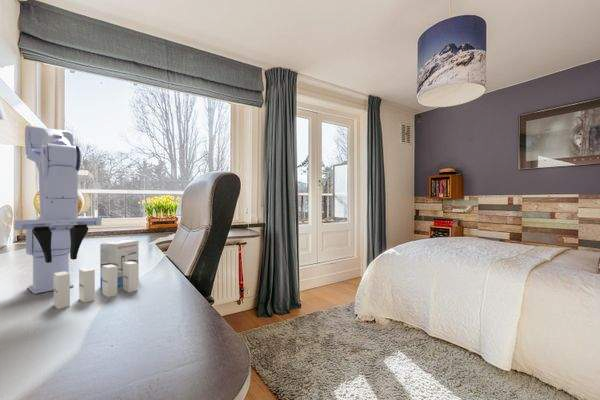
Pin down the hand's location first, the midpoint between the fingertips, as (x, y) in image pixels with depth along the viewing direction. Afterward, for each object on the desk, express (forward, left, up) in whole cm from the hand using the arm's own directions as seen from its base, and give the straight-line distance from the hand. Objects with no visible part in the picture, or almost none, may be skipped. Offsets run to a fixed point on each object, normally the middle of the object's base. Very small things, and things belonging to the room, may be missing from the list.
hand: (61, 260), depth 62 cm
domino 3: (0, +9, -10) cm, 13 cm away
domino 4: (0, +14, -10) cm, 17 cm away
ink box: (-9, +14, -10) cm, 20 cm away
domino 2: (0, +5, -10) cm, 11 cm away
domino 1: (0, 0, -10) cm, 10 cm away
